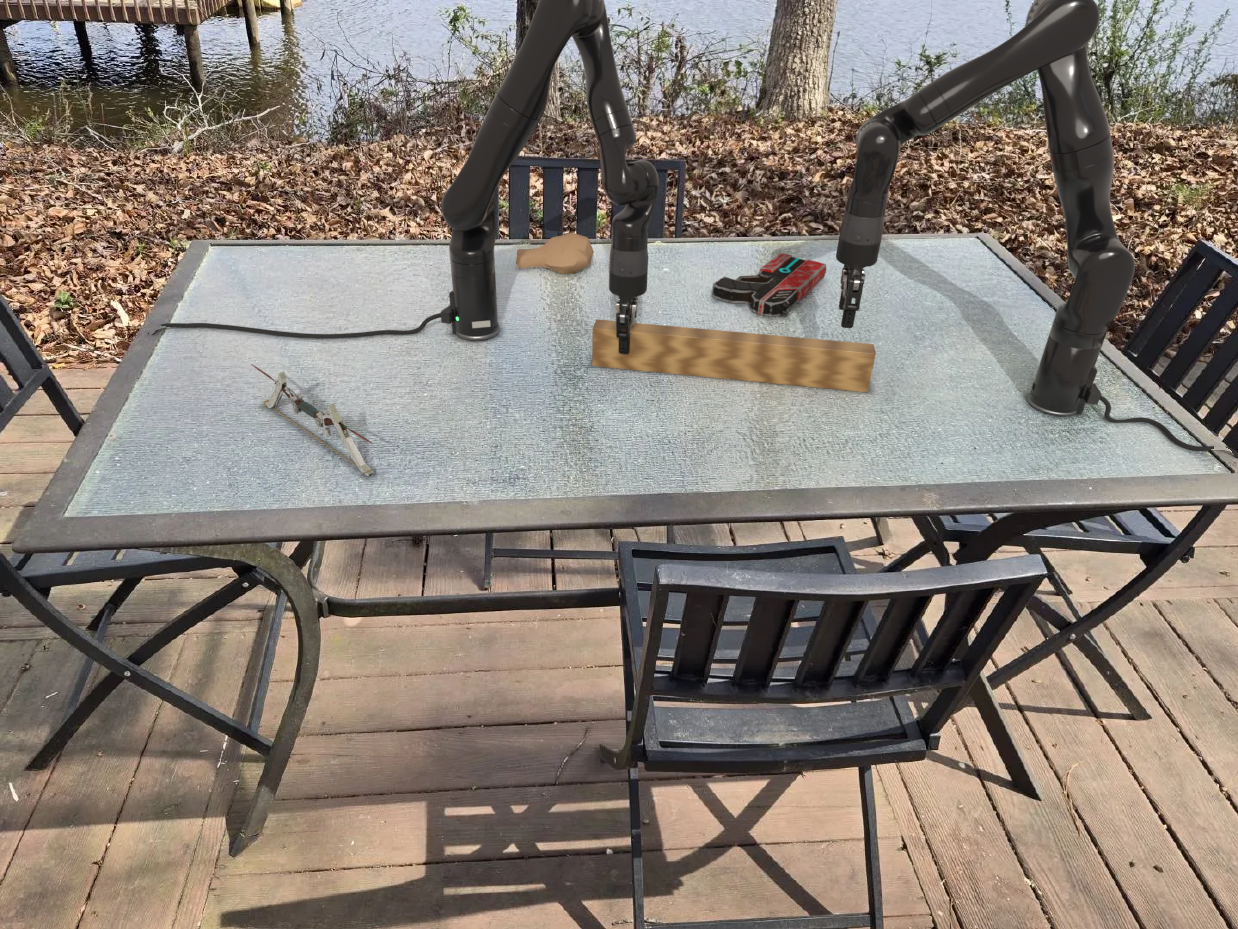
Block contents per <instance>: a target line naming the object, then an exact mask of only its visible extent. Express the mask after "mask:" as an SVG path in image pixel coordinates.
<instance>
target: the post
mask: <svg viewBox="0 0 1238 929" xmlns="http://www.w3.org/2000/svg"><path fill="white" fill-rule="evenodd" d="M621 331H626V330H621ZM591 333H592V335H591V336H592V339H591V340H592V342H591V343H592V344H591V346H592V348H591V349H592V350H591V353H592V354H591V356H592V357H591V366H592V367H599V368H609V369H618V370H629V371H631V370H632V371H639V372H651V373H661V374H670V375H682V376H693V377H702V378H703V377H704V378H712V379H723V380H724V379H725V380H735V381H743V382H744V381H745V382H755V383H767V384H774V385H787V386H796V387H808V388H818V389H828V390H839V391H849V392H859V393H860V392H861V393H868V392H869V389H870V388H869V387H870V383H871V378H872V375H873V374H872V373H873V368H874V363H875V359H876V356H877V355H876V348H875V344H874V343H865V342H856V341H855V342H854V341H843V340H833V339H832V340H831V339H822V338H821V339H819V338H811V337H810V338H808V337H800V336H799V337H798V336H787V335H778V334H777V335H775V334H763V333H755V332H753V333H752V332H742V331H733V330H732V331H730V330H720V329H709V328H697V327H687V326H686V327H685V326H675V325H663V324H654V323H653V324H652V323H651V324H650V323H644V322H643V323H642V322H635V323H634V325H633V326H631V336H630V352H629V354H621V353H619V338H617V336H616V320H608V319H598V318H597V319H595V322H594V324H593V326H592V332H591Z"/></svg>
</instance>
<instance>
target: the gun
mask: <svg viewBox="0 0 1238 929" xmlns="http://www.w3.org/2000/svg"><path fill="white" fill-rule="evenodd" d="M826 273H827V264H826V263H823V262H820V261H816V260H812V259H802V258H799V257H795V256H793V255H792V254H791V253H784V252H780V253H778V254H777V255H775V256H774V257H773V258H771V259H770V260H768V261H767V262H766V263H765V264H763V265H762V266H761V267H760V269H759V271H758V273H757V274H756V275H753V274H752V275H751V274H750V275H740V276H738V277H737V278H735V279H734V278H731V277H727V276H722V277H720V279H717V281H715V282H713V283H712V291H711V297H713V298H714V299H716V300H719V301H723V302H727V303H730V304H750V305H749V308H750V310H751V312H753V313H755V314H757V315H758V316H760V317H761V316H765V317H770V318H771V317H777V316H780V317H784V318H787V317H788V315H789V311H788V310H790V309H791V308H792V307H793V306H794V305H795V304H798V303H799V302H801V301H802V300H803V299H804V298H805V297H807V296H808V295H809V294H810V293H811V292H812V291H813V290H814V289H815V287H817V285H818V284H820V283H821V282H822V280H823V279H824V278H825V276H826Z"/></svg>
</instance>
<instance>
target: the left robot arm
mask: <svg viewBox="0 0 1238 929" xmlns="http://www.w3.org/2000/svg"><path fill="white" fill-rule="evenodd" d="M609 26H610V25H609V20H608V13H607V8H606V3H605V0H538V3H537V5H536V8H535V11H534V13H533V16H532V19H531V20H530V24H529V25H528V29H527V31H526V34H525V36H524V39H523V41H522V43H521V46H520V47H519V49H518V52H517V53H516V55H515V57H514V59H513V61H512V63H511V65H510V67H509V68H508V71H507V73H506V75H505V77H504V79H503V80H502V83H501V84H500V86H499V88H498V90H497V92H496V94H495V96H494V98H493V99H492V102H491V103H490V105H489V107H488V110H487V112H486V114H485V116H484V119H483V121H482V123H481V125H480V128H479V130H478V132H477V134H476V137H475V139H474V142H473V145H472V147H471V150H470V152H469V155H468V157H467V158H466V161H465V163H464V164H463V166H462V167H461V169H460V170H459V172H458V173H457V176H456V177H455V178H454V180H453V181H452V182H451V184H450V186H449V187H448V188H447V189H446V191H444V193H443V196H442V199H441V213H442V217H443V219H444V221H445V222H446V224H447V225H448V226H449V228H451V235H450V240H449V246H448V251H449V263H450V264H449V265H450V275H451V276H450V277H451V286H452V290H451V291H450V292H448V297H449V305H448V306H446V307H445V308H443V309H442V310H441V311H440V312H439V313H434V314H432V315H430V316H427V317H426V318H425V319H424V320H423V321H422V322H421V324H420V325H419V326H418V327H416V328H412V329H407V330H402V329H401V330H400V329H399V330H398V329H382V330H372V331H361V332H347V333H345V332H344V333H306V332H305V333H304V332H292V331H281V330H273V329H264V328H255V327H248V326H241V325H233V324H232V325H231V324H223V323H222V324H220V323H208V322H189V323H188V322H187V323H186V322H184V323H183V322H181V323H180V322H168V323H162V324H161V323H160V325H161V326H166V327H170V328H169V329H173V328H175V329H176V328H177V329H178V328H179V329H180V328H181V329H182V328H183V329H189V328H191V329H192V328H206V329H219V330H230V331H239V332H246V333H247V332H248V333H254V334H263V335H269V336H270V335H271V336H279V337H288V338H300V339H302V338H303V339H349V338H362V337H363V338H364V337H365V338H366V337H373V336H383V335H396V336H397V335H399V336H406V335H407V336H408V335H414V334H418V333H420V332H421V331H423V330H424V329H425V327H426V326H427V325H428V323H430V322H432V321H434V320H436V319H440V321H441V322H440V323H442V324H445V325H446V324H447V325H451V332H452V334H453V335H456V336H457V337H458V338H460V339H462V340H464V341H470V342H479V341H481V342H482V341H486V340H487V341H488V340H491V339H493V338H494V337H495V338H496V337H497V335H499V333H500V325H499V312H498V311H499V310H498V296H497V295H498V294H497V293H498V292H497V276H496V275H497V274H496V261H495V259H496V258H495V246H496V238H497V237H496V233H497V232H496V230H497V229H496V228H497V227H496V204H495V197H494V194H495V192H496V190H497V188H498V186H499V184H500V183H501V181H502V178H503V177H504V176H505V174H506V173H507V171H508V170H509V169H510V167H511V166H512V165H513V163H514V162H515V161H516V160H517V158H518V157H519V155H520V154H521V153H522V151H523V150H524V148H525V147H526V145H527V143H528V142H529V141H530V139H531V137H532V136H533V134H534V133H535V130H536V128H537V127H538V125H539V123H540V122H541V119H542V118H543V116H544V113H545V112H546V109H547V108H546V107H547V106H548V101H549V95H550V88H551V81H552V77H553V76H552V75H553V71H554V68H555V66H556V64H557V61H558V59H559V57H560V56H561V54H562V53H563V50H564V48H565V47H566V45H567V44H568V42H569V41H570V39H571V38H572V39H573V41H574V44H575V45H576V48H577V50H578V52H579V55H580V57H581V61H582V64H583V69H584V75H585V93H586V95H585V96H586V97H585V98H586V105H587V110H588V115H589V119H590V123H591V125H592V128H593V131H594V135H595V138H596V141H597V143H598V147H599V148H598V150H599V162H600V175H601V176H600V178H601V185H602V189H603V192H604V194H605V196H606V197H607V198H608V200H609V201H610V202H611V203H612V204H614V205H616V206H624V208H623V209H622V210H621V211H620V212H618V213H617V214H615V215H614V217H613V218H612V220H611V225H610V226H611V230H610V234H611V235H610V250H609V262H608V263H609V264H608V265H609V266H608V291H609V292H610V293H611V294H612V295H614V296H617V297H618V299H617V301H616V303H615V310H616V314H615V321H616V336H617V338H619V353H621V354H629V352H630V336H631V326H633V325H634V323H636V319H637V318H638V307H639V297H641V296H643V295H644V294H646V292H647V291H648V275H649V274H648V271H649V251H648V245H649V242H648V241H649V238H648V237H649V224H650V221H651V219H652V217H653V216H652V215H653V212H654V210H655V209H654V208H655V206H656V203H657V198H658V194H659V189H660V179H659V174H658V172H657V169H656V167H655V166H654V165H653V163H652V162H650V161H648V160H646V159H639V160H634V161H630V162H627V160H626V151H627V150H628V149H630V148H632V147H633V146H634V145H635V144H636V141H637V135H636V130H635V127H634V126H635V125H634V124H633V121H632V117H631V115H630V111H629V107H628V104H627V101H626V98H625V95H624V91H623V88H622V85H621V81H620V78H619V74H618V69H617V64H616V59H615V54H614V49H613V44H612V39H611V33H610V27H609ZM621 330H626V331H621ZM158 331H159V330H157V331H156V332H158Z"/></svg>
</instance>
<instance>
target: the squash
mask: <svg viewBox="0 0 1238 929" xmlns="http://www.w3.org/2000/svg"><path fill="white" fill-rule="evenodd" d="M594 253H595V251H594V249H593V246H592V243H591V242H590V239H589V237H587V236H584V235H581V234H579V233H574V232H568V233H565V234H563V235H558V236H552V237H551V238H550V239H548V240H547V241H546V242H545V243H544V244H542V245H541V246H539V247H534V248H518V249H516V258H515V264H516V266H517V267H518V269H520V270H522V269H529V268H530V269H531V268H544V269H549V270H551V271H553V272H555V273H558V274H561V275H572V274H573V275H574V274H578V273H579V272H580V271H583V270H585V269H587V268H589V267H590V266H591V264H592V260H593V257H594Z"/></svg>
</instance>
